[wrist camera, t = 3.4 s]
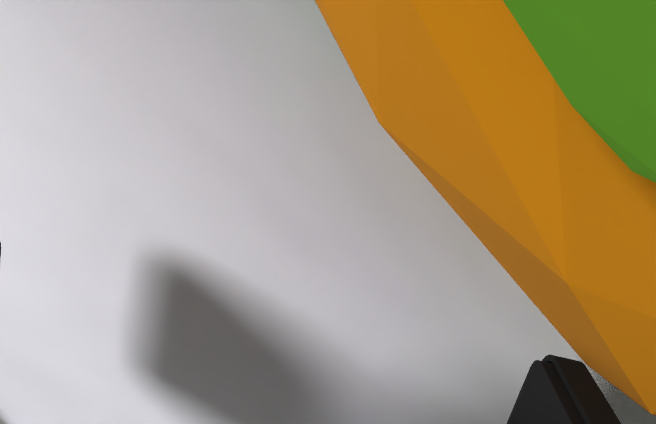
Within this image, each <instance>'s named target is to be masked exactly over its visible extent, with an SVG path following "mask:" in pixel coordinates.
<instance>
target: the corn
mask: <svg viewBox="0 0 656 424" xmlns="http://www.w3.org/2000/svg"><path fill="white" fill-rule="evenodd" d="M315 2H316V4H317V5H318V7H319V9H320V11H321V13H322V15H323V17H324V19H325V21H326V23H327V25H328V26H329V28H330V30H331V32H332V34H333V36H334V38H335V40H336V42H337V44H338V45H339V47H340V49H341V51H342V53H343V55H344V57H345V59H346V61H347V63H348V65H349V66H350V68H351V70H352V72H353V74H354V76H355V78H356V80H357V82H358V84H359V86H360V87H361V89H362V91H363V93H364V95H365V97H366V99H367V101H368V103H369V105H370V106H371V108H372V110H373V112H374V114H375V116H376V118H377V120H378V122H379V123H380V124H381V126H382V127H383V128H384V129H385V130H386V131H387V133H388V134H389V135H390V136H391V137H392V138H393V139H394V141H395V142H396V143H397V144H398V145H399V146H400V148H401V149H402V150H403V151H404V152H405V153H406V155H407V156H408V157H409V158H410V159H411V160H412V162H413V163H414V164H415V165H416V166H417V167H418V169H419V170H420V171H421V172H422V173H423V174H424V176H425V177H426V178H427V179H428V180H429V181H430V183H431V184H432V185H433V186H434V187H435V188H436V190H437V191H438V192H439V193H440V194H441V195H442V197H443V198H444V199H445V200H446V201H447V202H448V204H449V205H450V206H451V207H452V208H453V209H454V211H455V212H456V213H457V214H458V215H459V216H460V218H461V219H462V220H463V221H464V222H465V223H466V225H467V226H468V227H469V228H470V229H471V230H472V232H473V233H474V234H475V235H476V236H477V237H478V239H479V240H480V241H481V242H482V243H483V244H484V246H485V247H486V248H487V249H488V250H489V251H490V252H491V254H492V255H493V256H494V257H495V258H496V259H497V261H498V262H499V263H500V264H501V265H502V266H503V268H504V269H505V270H506V271H507V272H508V273H509V275H510V276H511V277H512V278H513V279H514V280H515V282H516V283H517V284H518V285H519V286H520V287H521V289H522V290H523V291H524V292H525V293H526V294H527V296H528V297H529V298H530V299H531V300H532V301H533V303H534V304H535V305H536V306H537V307H538V308H539V310H540V311H541V312H542V313H543V314H544V315H545V317H546V318H547V319H548V320H549V321H550V322H551V324H552V325H553V326H554V327H555V328H556V329H557V331H558V332H559V333H560V334H561V335H562V336H563V338H564V339H565V340H566V341H567V342H568V343H569V345H570V346H571V347H572V348H573V349H574V350H575V352H576V353H577V354H578V355H579V356H580V357H581V359H582V360H583V361H584V362H585V363H586V364H587V365H588V366H589V367H590V368H592V369H593V370H594V371H596V372H597V373H598V374H599V375H601V376H602V377H603V378H605V379H606V380H607V381H609V382H610V383H611V384H613V385H614V386H615V387H617V388H618V389H619V390H620V391H622V392H623V393H624V394H626V395H627V396H628V397H630V398H631V399H632V400H634V401H635V402H636V403H637V404H639V405H640V406H641V407H643V408H644V409H645V410H647V411H648V412H649V413H651V414H652V415H655V416H656V0H315Z"/></svg>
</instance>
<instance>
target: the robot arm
mask: <svg viewBox="0 0 656 424" xmlns="http://www.w3.org/2000/svg"><path fill="white" fill-rule="evenodd" d="M0 256H1V243H0ZM507 424H621V423H620V421H619V420H618V418H617V416H616V415H615V413H614V411H613V410H612V408H611V407H610V405H609V403H608V402H607V400H606V398H605V397H604V395H603V394H602V392H601V390H600V389H599V387H598V386H597V384H596V382H595V381H594V379H593V377H592V376H591V374H590V373H589V371H588V369H587V368H586V366H585V365H584V364H583V363H582V362H580V361H575V360H571V359H567V358H562V357H558V356H554V355H547V356H546V357H545V358H544V359H543V360H542V361H539V360H536V361H534V362H533V364H532V365H531V367H530V369H529V372H528V374H527V377H526V379H525V381H524V384H523V386H522V388H521V391H520V393H519V396H518V398H517V400H516V403H515V405H514V408H513V410H512V412H511V415H510V417H509V420H508V422H507Z"/></svg>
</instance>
